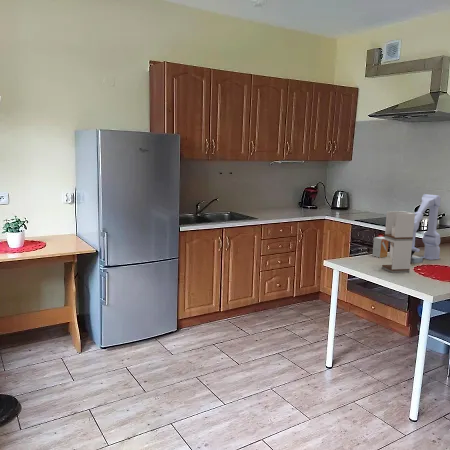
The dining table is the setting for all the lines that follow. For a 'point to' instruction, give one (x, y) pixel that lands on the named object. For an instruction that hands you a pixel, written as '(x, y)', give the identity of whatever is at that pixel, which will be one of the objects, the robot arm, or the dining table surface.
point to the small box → (380, 247)
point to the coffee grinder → (399, 240)
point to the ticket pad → (416, 259)
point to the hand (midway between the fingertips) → (408, 260)
